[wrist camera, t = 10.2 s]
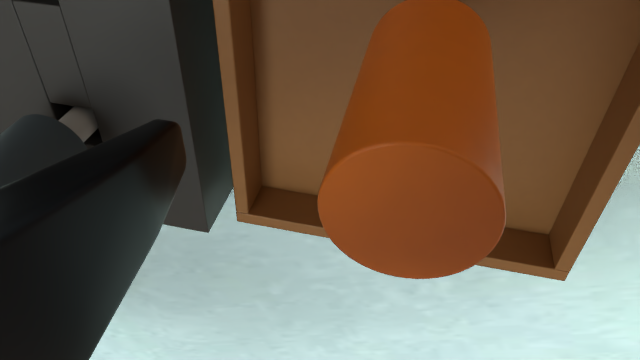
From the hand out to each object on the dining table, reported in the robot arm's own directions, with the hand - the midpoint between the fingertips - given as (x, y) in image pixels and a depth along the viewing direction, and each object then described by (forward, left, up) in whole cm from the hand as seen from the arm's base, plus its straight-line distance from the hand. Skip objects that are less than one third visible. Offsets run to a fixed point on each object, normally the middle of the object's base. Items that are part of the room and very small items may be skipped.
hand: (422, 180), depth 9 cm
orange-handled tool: (0, 0, -10) cm, 10 cm away
